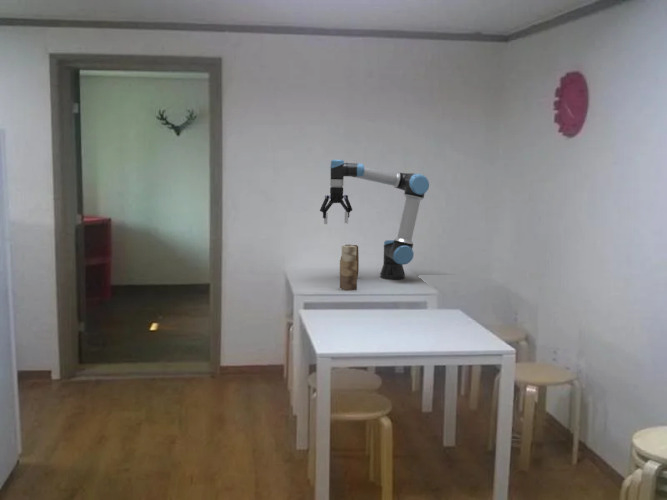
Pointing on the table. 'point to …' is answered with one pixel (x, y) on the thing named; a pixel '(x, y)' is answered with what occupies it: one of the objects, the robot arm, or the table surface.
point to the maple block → (349, 253)
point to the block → (356, 257)
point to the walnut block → (348, 282)
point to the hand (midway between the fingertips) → (336, 223)
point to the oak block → (348, 268)
